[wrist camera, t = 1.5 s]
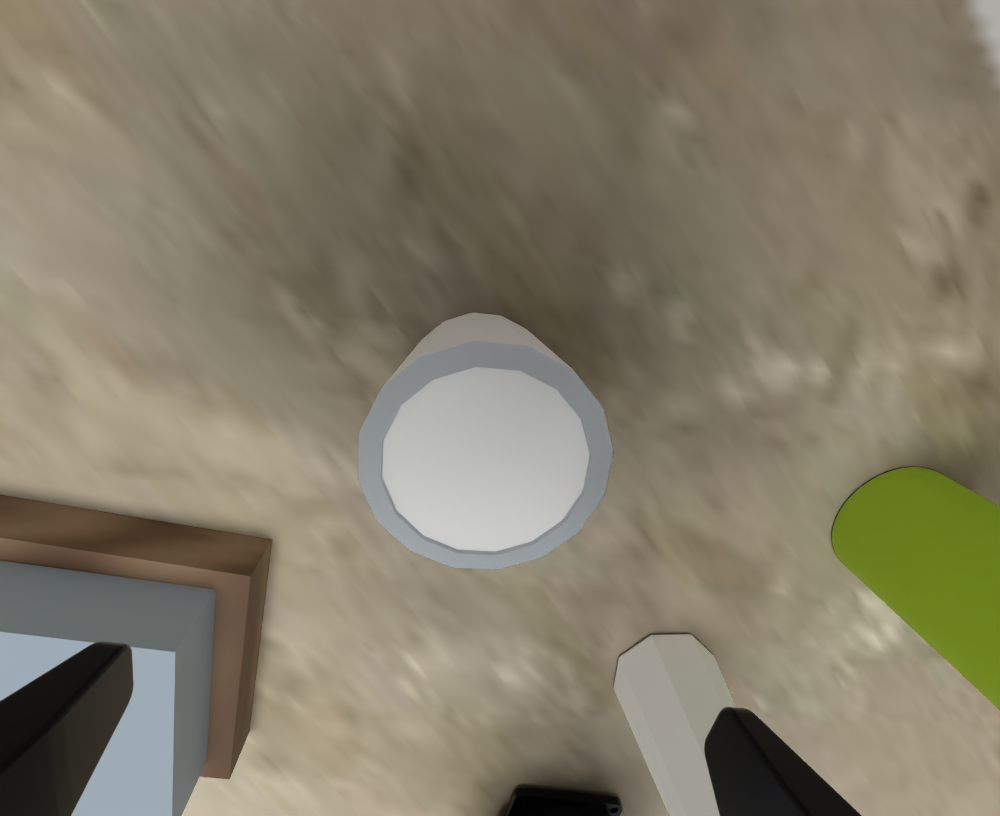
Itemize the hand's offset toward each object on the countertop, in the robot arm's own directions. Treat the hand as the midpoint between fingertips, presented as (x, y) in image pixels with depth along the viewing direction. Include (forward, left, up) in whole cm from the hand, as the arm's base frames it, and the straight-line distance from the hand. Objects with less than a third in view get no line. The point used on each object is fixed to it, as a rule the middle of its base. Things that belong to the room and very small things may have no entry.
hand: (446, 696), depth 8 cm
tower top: (+12, +14, -11) cm, 22 cm away
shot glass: (-1, -1, -14) cm, 14 cm away
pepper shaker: (-14, +12, -14) cm, 23 cm away
